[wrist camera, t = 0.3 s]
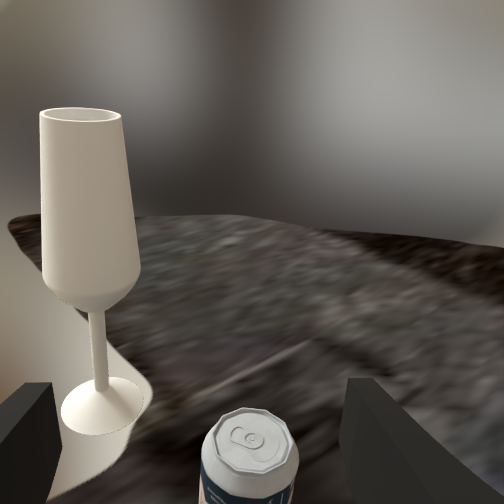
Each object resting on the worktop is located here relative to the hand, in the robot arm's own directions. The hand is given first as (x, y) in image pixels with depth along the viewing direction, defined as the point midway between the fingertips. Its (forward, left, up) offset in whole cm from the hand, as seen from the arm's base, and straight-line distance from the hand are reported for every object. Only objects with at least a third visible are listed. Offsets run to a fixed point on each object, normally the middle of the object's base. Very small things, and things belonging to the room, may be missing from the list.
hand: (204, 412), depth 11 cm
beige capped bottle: (+7, -2, -21) cm, 22 cm away
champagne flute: (+20, +10, -21) cm, 31 cm away
